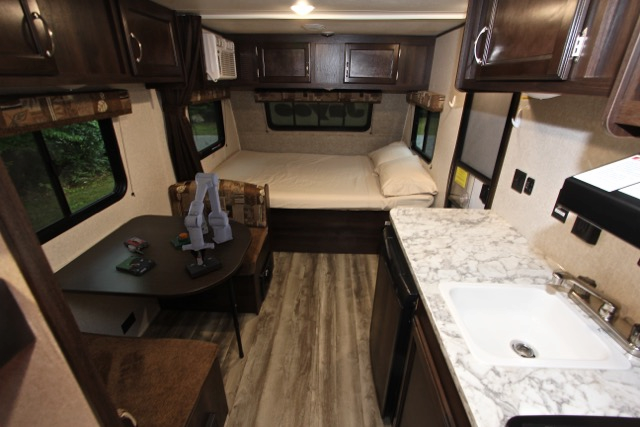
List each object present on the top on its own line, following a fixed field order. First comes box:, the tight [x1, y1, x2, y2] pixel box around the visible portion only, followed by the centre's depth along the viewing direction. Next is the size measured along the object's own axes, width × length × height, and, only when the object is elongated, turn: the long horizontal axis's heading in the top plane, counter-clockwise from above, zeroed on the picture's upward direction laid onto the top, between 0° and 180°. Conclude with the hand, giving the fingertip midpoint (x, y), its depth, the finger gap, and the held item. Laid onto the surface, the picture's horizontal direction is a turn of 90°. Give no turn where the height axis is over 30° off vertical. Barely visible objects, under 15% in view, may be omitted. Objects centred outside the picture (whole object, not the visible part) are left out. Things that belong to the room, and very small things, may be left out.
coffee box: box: [188, 207, 209, 235], centre depth 179 cm, size 9×6×16 cm
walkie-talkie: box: [123, 236, 149, 255], centre depth 163 cm, size 9×4×20 cm
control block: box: [170, 233, 191, 250], centre depth 170 cm, size 12×10×4 cm
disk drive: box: [114, 255, 156, 277], centre depth 147 cm, size 10×3×15 cm
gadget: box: [184, 254, 222, 279], centre depth 148 cm, size 14×12×3 cm
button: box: [178, 232, 188, 239], centre depth 169 cm, size 4×4×2 cm
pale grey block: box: [197, 251, 203, 265], centre depth 147 cm, size 6×2×4 cm, turn 9°
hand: (201, 260), depth 148 cm, fingers closed on pale grey block, 2 cm apart
